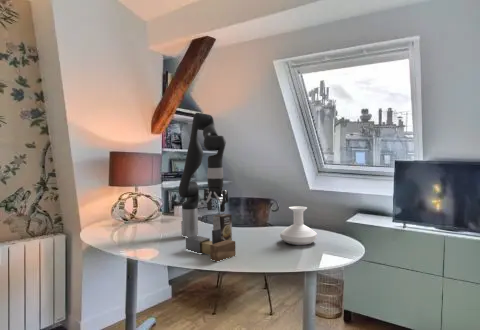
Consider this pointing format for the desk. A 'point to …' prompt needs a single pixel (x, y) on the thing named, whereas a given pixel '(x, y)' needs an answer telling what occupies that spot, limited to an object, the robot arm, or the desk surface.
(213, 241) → the tan and grey block
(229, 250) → the socket
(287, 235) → the white vase
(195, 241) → the grey rectangular box
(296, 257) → the desk surface
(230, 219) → the coffee box
